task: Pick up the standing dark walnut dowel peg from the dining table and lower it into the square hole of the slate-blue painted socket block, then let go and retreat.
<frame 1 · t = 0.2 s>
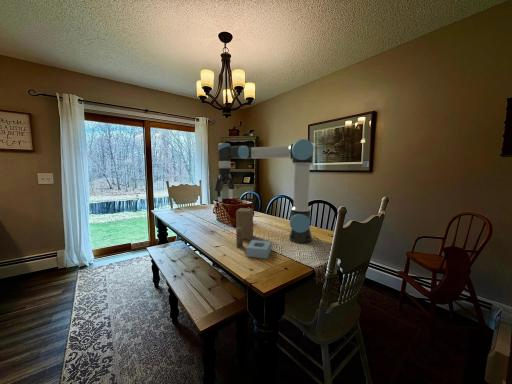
hand: (225, 200, 135), 28 cm above the table, fingers open, 13 cm apart
socket block: (259, 252, 118), on the table
walnut peg: (239, 246, 128), on the table
wooden block: (245, 237, 145), on the table
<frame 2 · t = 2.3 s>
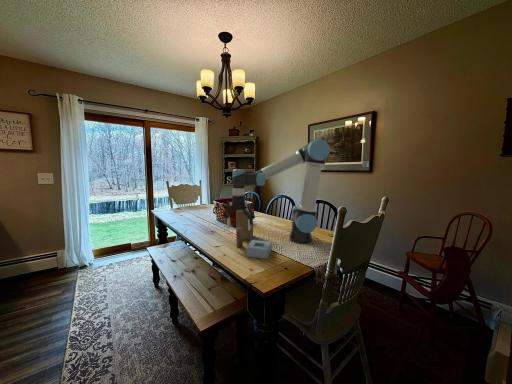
hand: (238, 229, 126), 11 cm above the table, fingers open, 13 cm apart
nothing on the table moved.
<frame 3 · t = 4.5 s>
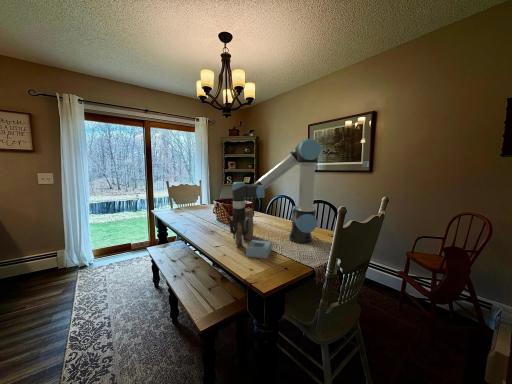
hand: (239, 244, 127), 2 cm above the table, fingers closed on walnut peg, 4 cm apart
walnut peg: (239, 246, 128), on the table, touching gripper
everything else where it was.
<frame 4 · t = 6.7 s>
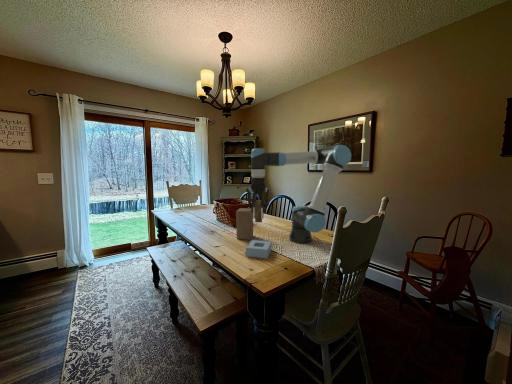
hand: (258, 218, 116), 20 cm above the table, fingers closed on walnut peg, 4 cm apart
walnut peg: (258, 221, 116), point 19 cm above the table, touching gripper
everything else where it was.
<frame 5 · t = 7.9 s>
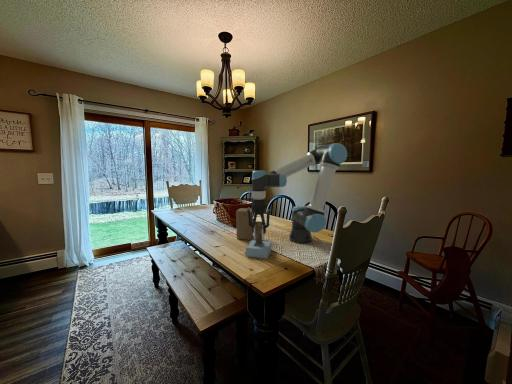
hand: (259, 238, 117), 9 cm above the table, fingers closed on walnut peg, 4 cm apart
walnut peg: (259, 242, 117), point 6 cm above the table, touching gripper
everything else where it was.
when the fingers open (6 cm above the table, at t = 9.0 s): walnut peg drops 4 cm, resting in socket block.
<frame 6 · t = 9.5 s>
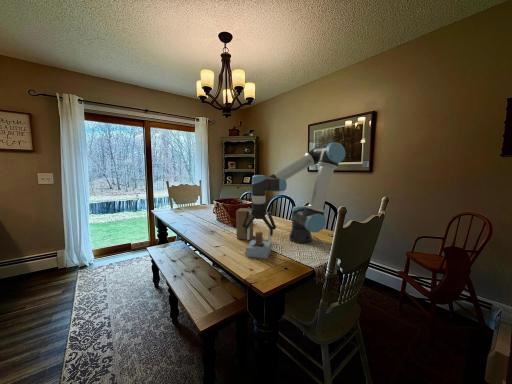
hand: (259, 239, 117), 8 cm above the table, fingers open, 12 cm apart
walnut peg: (259, 252, 118), resting in socket block
everything else where it was.
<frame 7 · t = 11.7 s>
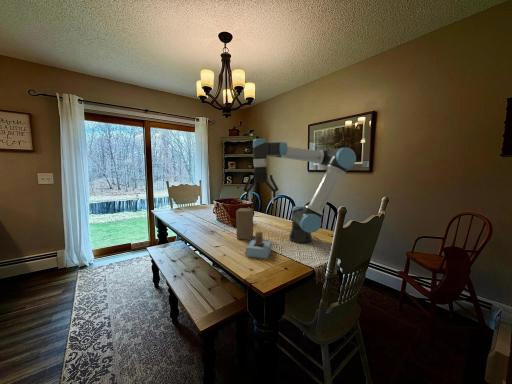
hand: (261, 203, 120), 28 cm above the table, fingers open, 13 cm apart
nothing on the table moved.
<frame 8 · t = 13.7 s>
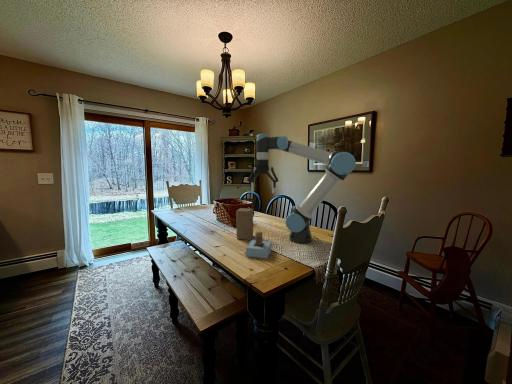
hand: (262, 192, 132), 33 cm above the table, fingers open, 13 cm apart
nothing on the table moved.
at the end: walnut peg 0.0 cm off-centre on the socket block, point 0.0 cm above the socket block's base; walnut peg tilted 0°; the gripper is holding nothing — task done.
